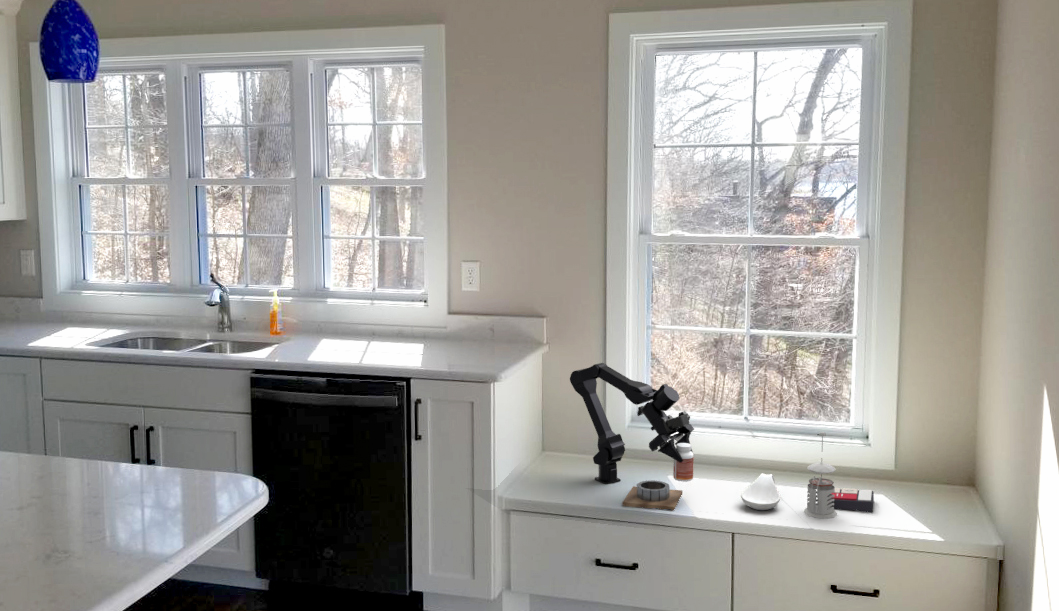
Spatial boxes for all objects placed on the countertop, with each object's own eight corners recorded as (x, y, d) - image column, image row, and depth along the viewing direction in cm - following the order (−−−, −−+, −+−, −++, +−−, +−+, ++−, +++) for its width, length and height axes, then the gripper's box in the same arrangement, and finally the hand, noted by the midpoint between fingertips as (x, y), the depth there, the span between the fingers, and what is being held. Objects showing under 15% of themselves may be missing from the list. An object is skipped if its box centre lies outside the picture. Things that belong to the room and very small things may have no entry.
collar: (630, 494, 308) (630, 483, 308) (656, 489, 313) (656, 478, 313) (649, 503, 300) (649, 492, 299) (675, 497, 305) (675, 487, 304)
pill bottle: (697, 480, 305) (698, 445, 303) (682, 483, 302) (682, 448, 300) (684, 474, 310) (685, 440, 308) (669, 477, 307) (670, 443, 305)
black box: (823, 486, 308) (873, 488, 302) (823, 499, 308) (873, 501, 303) (820, 496, 298) (872, 499, 292) (820, 510, 298) (872, 513, 293)
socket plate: (622, 505, 302) (622, 502, 301) (633, 489, 317) (633, 486, 317) (674, 510, 297) (674, 506, 297) (682, 494, 312) (682, 490, 312)
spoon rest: (777, 516, 291) (778, 492, 290) (738, 512, 296) (738, 489, 295) (786, 491, 313) (786, 470, 312) (748, 488, 318) (749, 467, 317)
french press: (841, 510, 295) (843, 430, 292) (830, 522, 285) (833, 439, 282) (808, 505, 300) (810, 425, 297) (797, 516, 290) (799, 434, 287)
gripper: (658, 410, 298) (688, 452, 293) (689, 398, 312) (719, 438, 307) (635, 430, 304) (665, 472, 299) (667, 418, 318) (696, 458, 313)
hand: (687, 459), depth 304 cm, fingers closed on pill bottle, 6 cm apart
